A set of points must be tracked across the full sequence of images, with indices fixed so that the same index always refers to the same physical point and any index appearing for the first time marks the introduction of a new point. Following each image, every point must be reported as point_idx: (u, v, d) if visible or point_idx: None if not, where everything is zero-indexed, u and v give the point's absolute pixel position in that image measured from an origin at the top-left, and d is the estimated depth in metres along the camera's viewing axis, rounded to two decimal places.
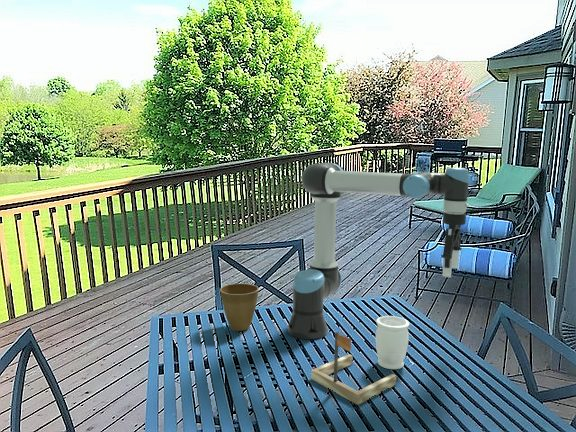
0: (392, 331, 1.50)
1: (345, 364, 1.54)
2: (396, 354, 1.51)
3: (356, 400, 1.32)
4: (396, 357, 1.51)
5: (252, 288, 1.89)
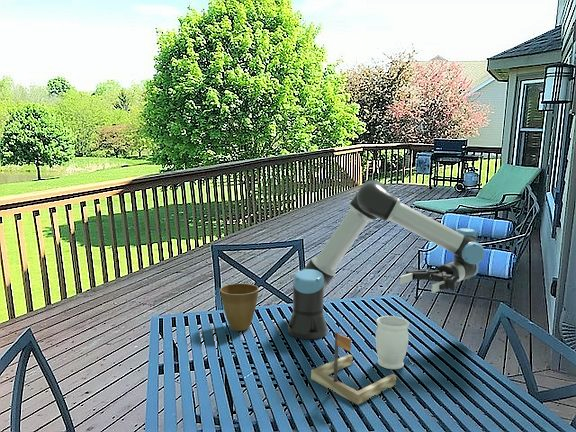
0: (392, 331, 1.50)
1: (345, 364, 1.54)
2: (396, 354, 1.51)
3: (356, 400, 1.32)
4: (396, 357, 1.51)
5: (252, 288, 1.89)
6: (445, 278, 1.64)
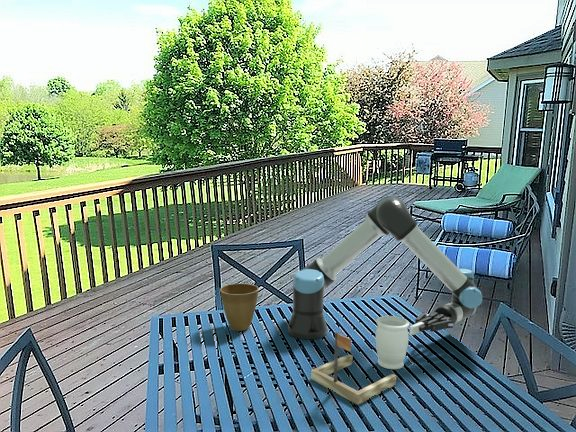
0: (392, 331, 1.50)
1: (345, 364, 1.54)
2: (396, 354, 1.51)
3: (356, 400, 1.32)
4: (396, 357, 1.51)
5: (252, 288, 1.89)
6: (433, 320, 1.68)
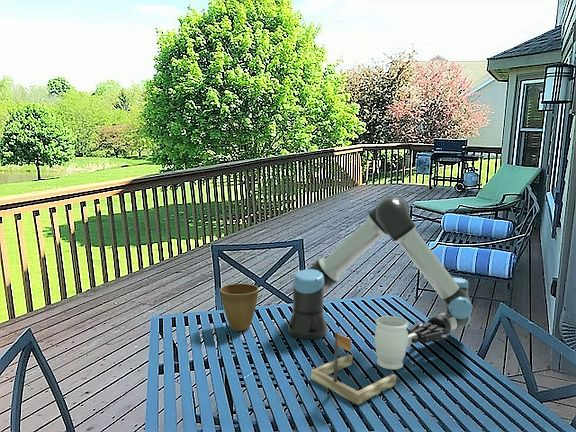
0: (392, 331, 1.50)
1: (345, 364, 1.54)
2: (395, 354, 1.51)
3: (356, 400, 1.32)
4: (395, 358, 1.51)
5: (252, 288, 1.89)
6: (426, 331, 1.64)
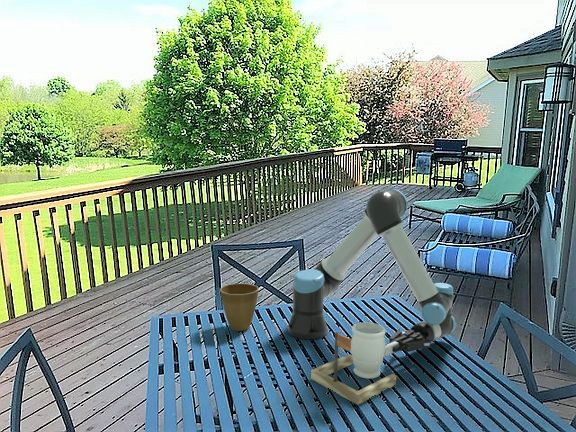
0: (364, 339, 1.44)
1: (345, 364, 1.54)
2: (368, 363, 1.45)
3: (356, 400, 1.32)
4: (368, 366, 1.45)
5: (252, 288, 1.89)
6: (408, 339, 1.57)
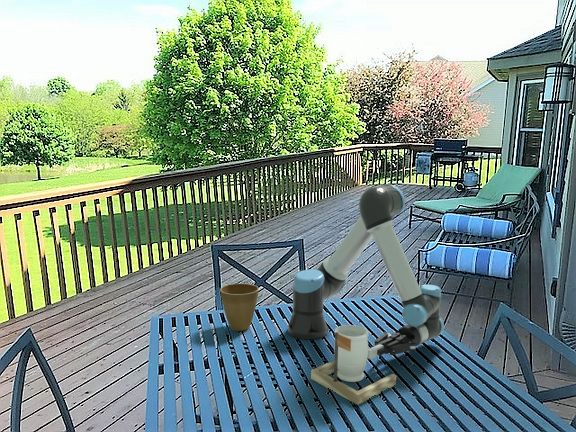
0: None
1: None
2: (350, 366, 1.43)
3: (356, 400, 1.32)
4: (350, 369, 1.43)
5: (252, 288, 1.89)
6: (394, 342, 1.54)
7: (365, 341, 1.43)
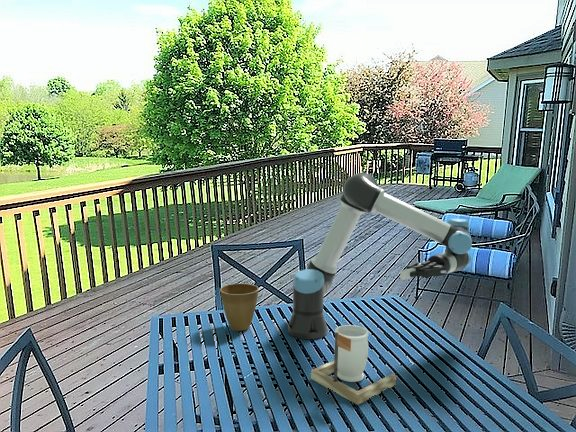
0: None
1: None
2: (350, 366, 1.43)
3: (356, 400, 1.32)
4: (350, 369, 1.43)
5: (252, 288, 1.89)
6: (425, 267, 1.61)
7: (365, 341, 1.43)
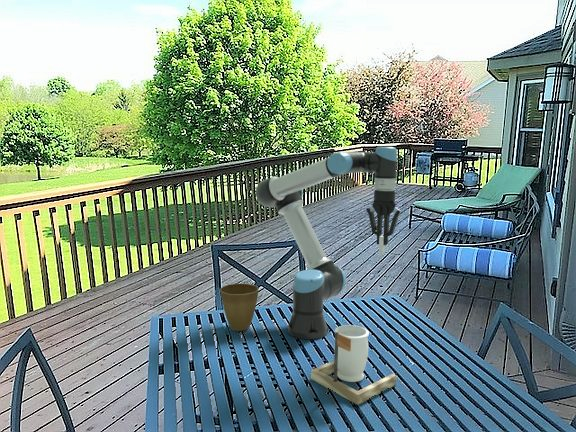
0: None
1: None
2: (350, 366, 1.43)
3: (356, 400, 1.32)
4: (350, 369, 1.43)
5: (252, 288, 1.89)
6: None
7: (365, 341, 1.43)
